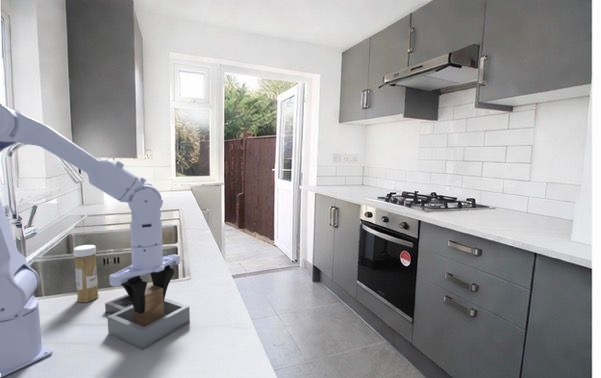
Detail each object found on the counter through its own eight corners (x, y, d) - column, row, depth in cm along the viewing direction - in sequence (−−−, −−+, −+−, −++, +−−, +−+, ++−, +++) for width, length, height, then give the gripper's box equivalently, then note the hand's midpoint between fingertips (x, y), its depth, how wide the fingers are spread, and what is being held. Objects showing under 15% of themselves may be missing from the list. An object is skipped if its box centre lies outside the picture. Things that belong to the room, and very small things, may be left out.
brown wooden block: (146, 328, 61) (145, 295, 61) (134, 323, 63) (132, 291, 63) (164, 319, 65) (162, 288, 64) (151, 314, 67) (150, 284, 66)
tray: (143, 349, 57) (142, 331, 56) (108, 333, 62) (107, 316, 61) (189, 322, 66) (189, 306, 66) (156, 309, 71) (155, 295, 71)
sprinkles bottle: (98, 300, 76) (95, 247, 75) (76, 304, 74) (72, 250, 72) (98, 293, 80) (95, 243, 79) (77, 297, 77) (73, 245, 76)
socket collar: (124, 319, 67) (124, 310, 67) (105, 311, 71) (105, 303, 70) (153, 305, 74) (153, 297, 73) (134, 298, 77) (134, 291, 77)
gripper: (124, 256, 54) (127, 329, 55) (188, 238, 67) (190, 297, 68) (101, 250, 57) (105, 319, 59) (167, 234, 70) (169, 290, 71)
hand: (149, 307), depth 64 cm, fingers closed on brown wooden block, 4 cm apart
